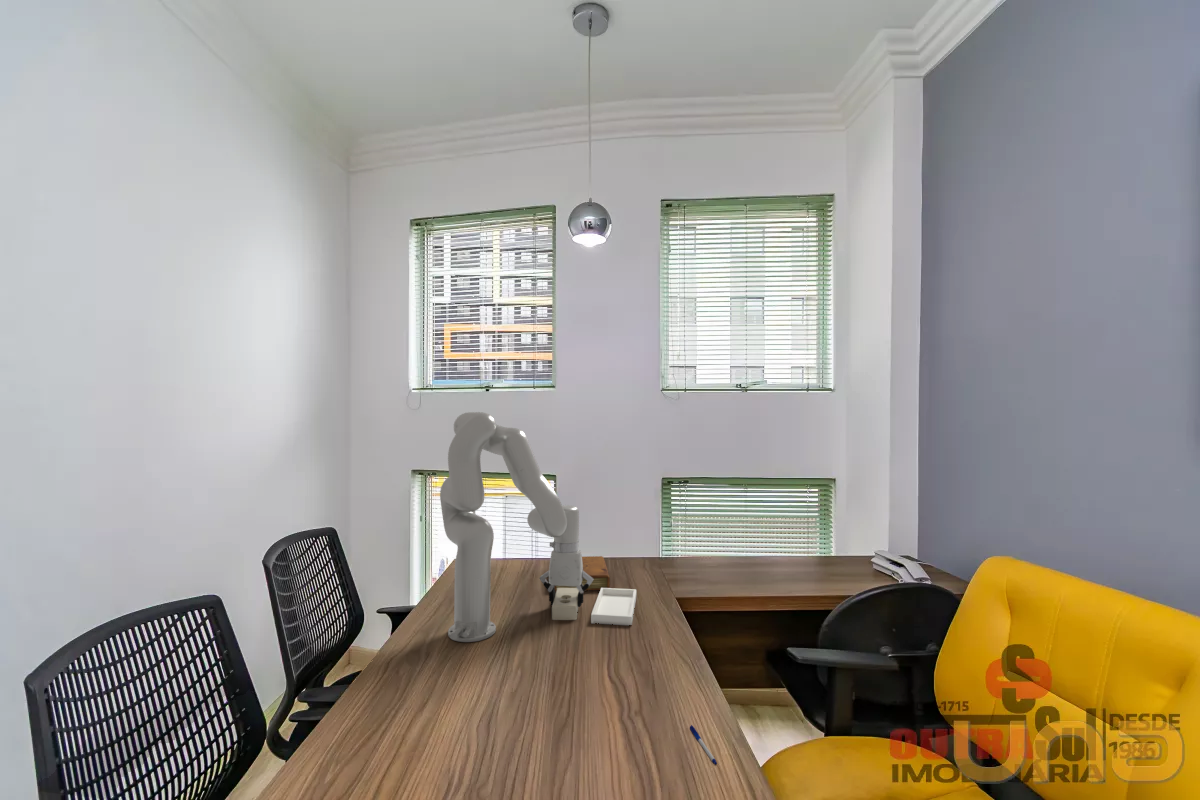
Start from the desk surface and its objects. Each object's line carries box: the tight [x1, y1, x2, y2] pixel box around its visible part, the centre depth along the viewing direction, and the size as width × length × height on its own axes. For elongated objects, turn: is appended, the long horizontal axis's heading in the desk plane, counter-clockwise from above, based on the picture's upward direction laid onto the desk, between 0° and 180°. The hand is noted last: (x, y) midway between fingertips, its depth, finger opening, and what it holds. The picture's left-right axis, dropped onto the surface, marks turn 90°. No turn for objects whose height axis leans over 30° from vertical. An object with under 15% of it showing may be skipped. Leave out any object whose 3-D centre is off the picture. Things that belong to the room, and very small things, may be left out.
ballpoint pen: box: [689, 724, 718, 765], centre depth 92 cm, size 10×1×1 cm, turn 15°
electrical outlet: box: [551, 588, 579, 621], centre depth 157 cm, size 7×4×18 cm
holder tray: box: [590, 587, 637, 626], centre depth 156 cm, size 23×12×2 cm, turn 173°
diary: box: [554, 555, 611, 592], centre depth 184 cm, size 23×19×6 cm
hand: (566, 604), depth 156 cm, fingers closed on electrical outlet, 7 cm apart
